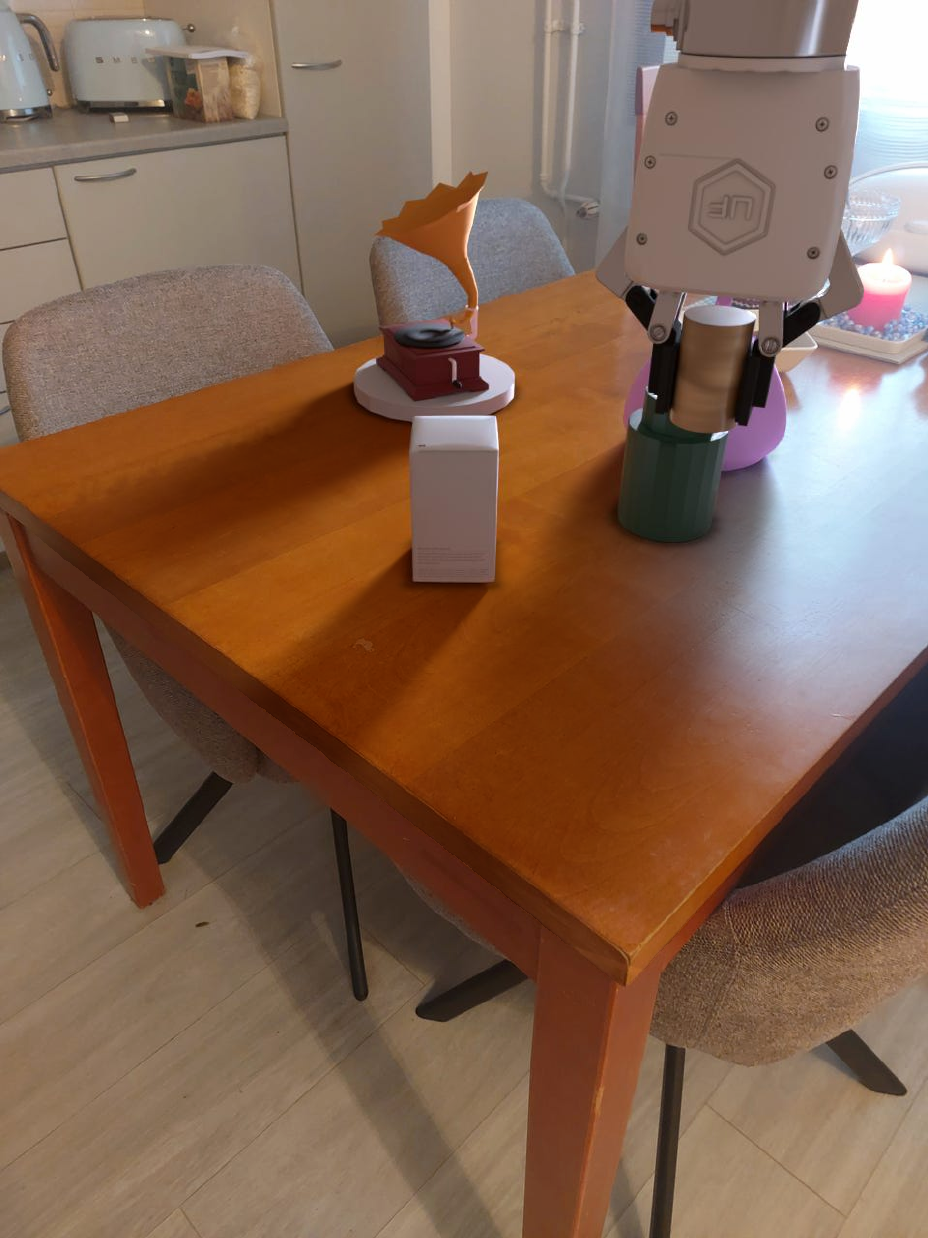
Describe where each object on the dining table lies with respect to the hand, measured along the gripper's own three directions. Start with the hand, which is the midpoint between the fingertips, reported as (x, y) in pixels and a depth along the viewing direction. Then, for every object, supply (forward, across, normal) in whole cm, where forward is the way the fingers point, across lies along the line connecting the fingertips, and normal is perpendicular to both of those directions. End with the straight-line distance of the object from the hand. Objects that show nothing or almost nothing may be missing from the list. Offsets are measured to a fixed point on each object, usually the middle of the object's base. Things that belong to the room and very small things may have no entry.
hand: (704, 408), depth 51 cm
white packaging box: (+23, -21, +13) cm, 34 cm away
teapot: (+23, -5, +48) cm, 54 cm away
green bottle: (+23, -5, +28) cm, 37 cm away
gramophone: (+23, -39, +50) cm, 68 cm away
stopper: (+1, 0, 0) cm, 1 cm away
